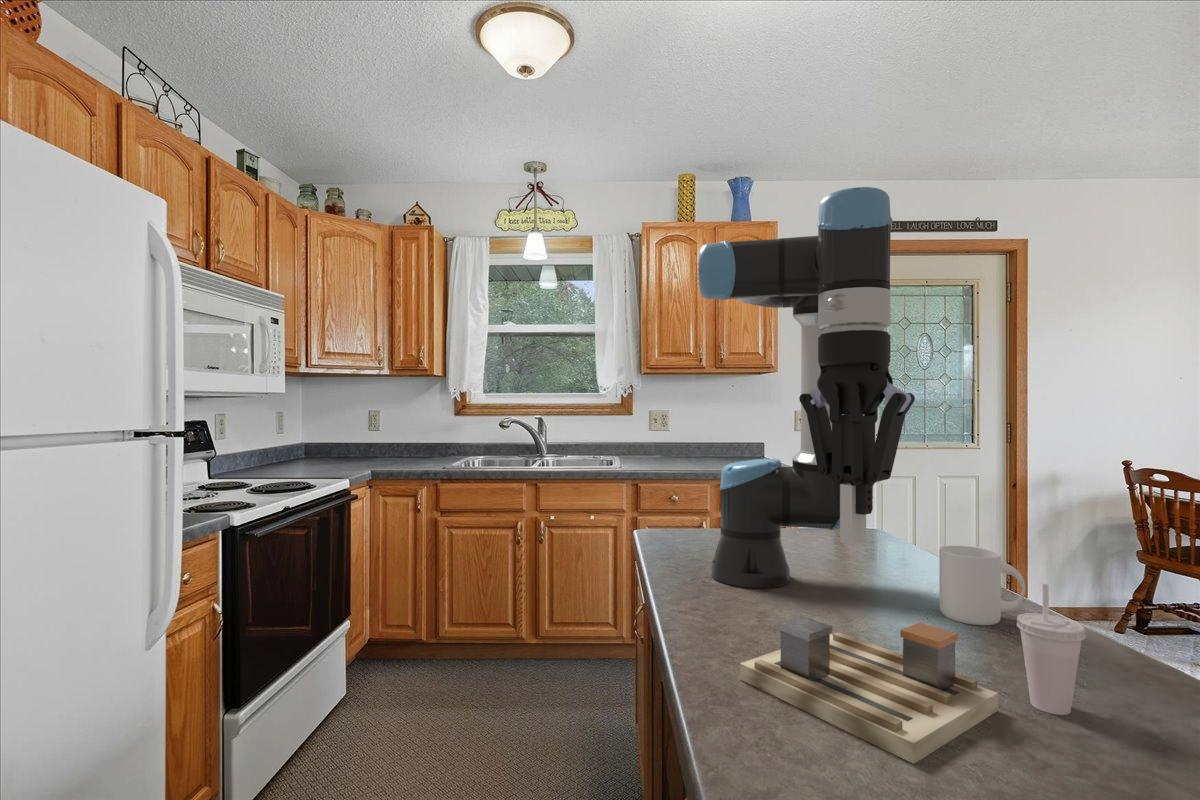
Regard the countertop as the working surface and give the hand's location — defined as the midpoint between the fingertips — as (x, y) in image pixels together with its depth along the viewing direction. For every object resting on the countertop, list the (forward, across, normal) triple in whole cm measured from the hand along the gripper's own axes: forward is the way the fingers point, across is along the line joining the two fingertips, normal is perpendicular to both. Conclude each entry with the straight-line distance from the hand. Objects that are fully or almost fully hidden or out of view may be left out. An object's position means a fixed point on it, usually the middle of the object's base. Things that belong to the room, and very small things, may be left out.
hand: (853, 541), depth 69 cm
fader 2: (+17, +3, +10) cm, 20 cm away
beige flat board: (+19, -2, +5) cm, 20 cm away
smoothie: (+19, +12, +20) cm, 30 cm away
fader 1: (+17, -6, 0) cm, 18 cm away
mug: (+20, -6, +45) cm, 49 cm away
